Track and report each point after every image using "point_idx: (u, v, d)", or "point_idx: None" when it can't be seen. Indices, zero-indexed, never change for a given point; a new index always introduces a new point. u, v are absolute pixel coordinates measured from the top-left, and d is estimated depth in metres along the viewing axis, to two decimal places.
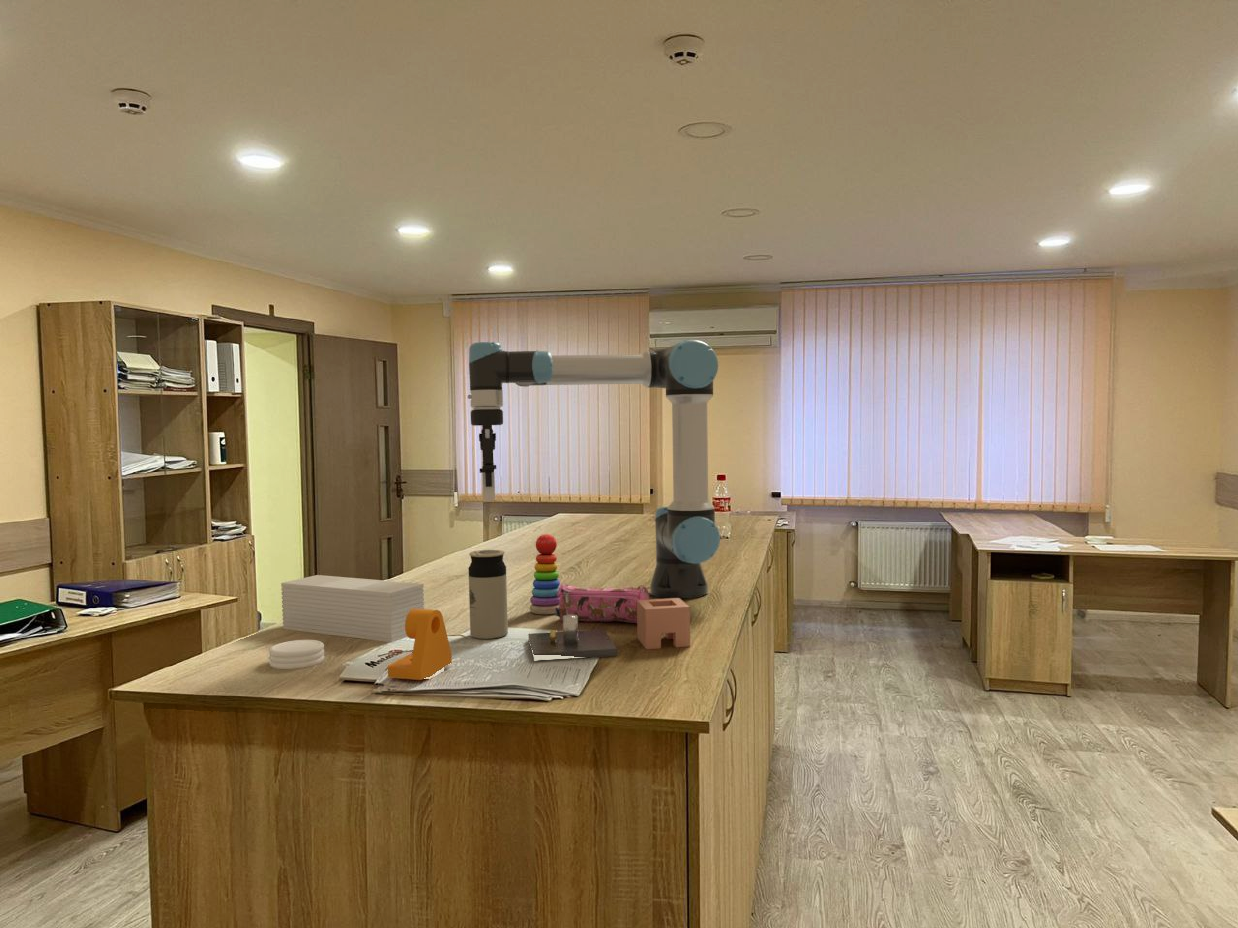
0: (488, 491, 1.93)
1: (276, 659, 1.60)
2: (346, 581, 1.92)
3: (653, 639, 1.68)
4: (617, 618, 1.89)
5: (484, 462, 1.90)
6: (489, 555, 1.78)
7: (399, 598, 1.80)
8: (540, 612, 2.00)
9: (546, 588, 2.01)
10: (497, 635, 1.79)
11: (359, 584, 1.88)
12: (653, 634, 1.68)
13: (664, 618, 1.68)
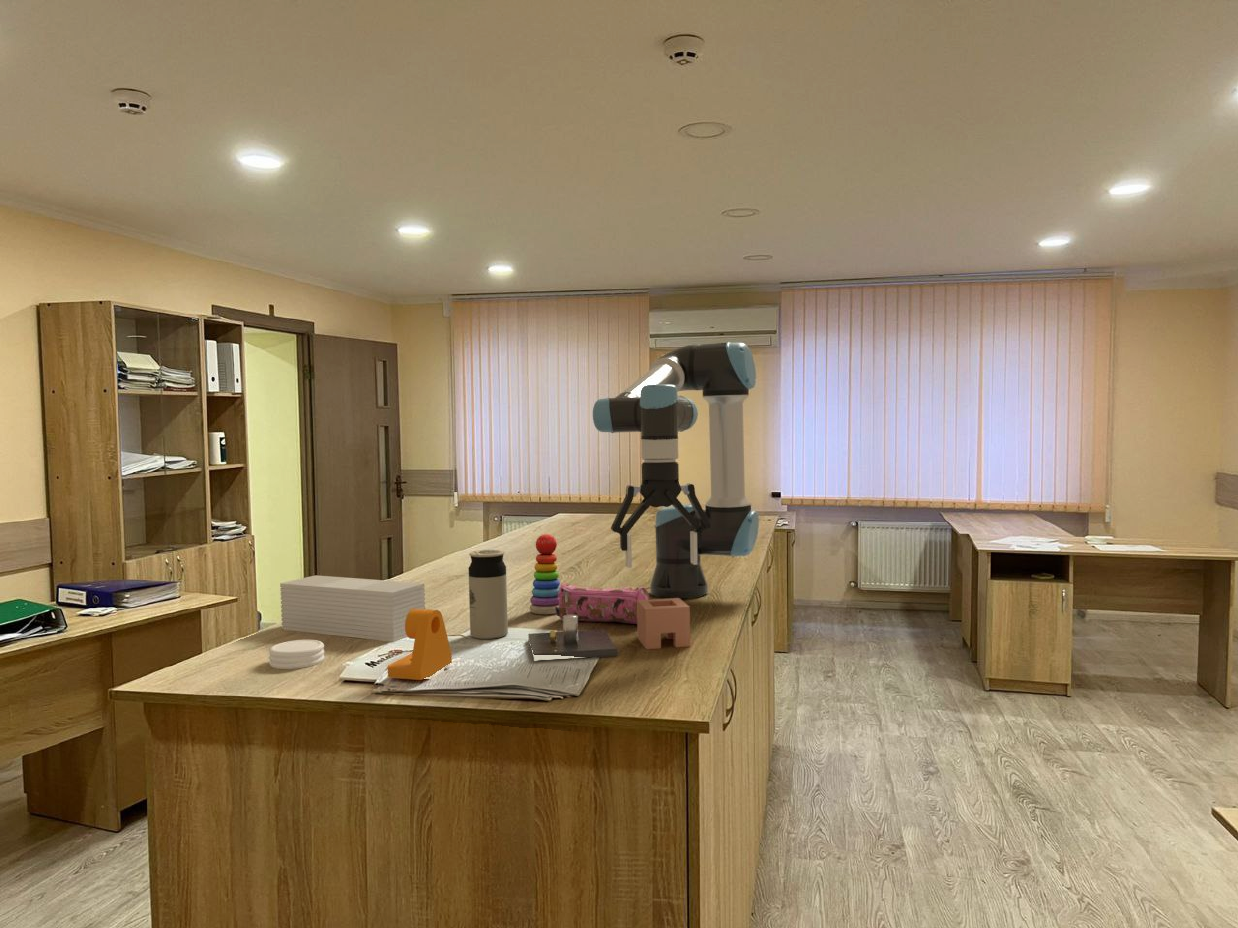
0: (626, 555, 1.71)
1: (276, 659, 1.60)
2: (346, 581, 1.92)
3: (653, 639, 1.68)
4: (615, 619, 1.88)
5: (613, 522, 1.71)
6: (489, 555, 1.78)
7: (401, 597, 1.80)
8: (540, 612, 2.00)
9: (546, 588, 2.01)
10: (497, 635, 1.79)
11: (359, 584, 1.88)
12: (653, 634, 1.68)
13: (664, 618, 1.68)
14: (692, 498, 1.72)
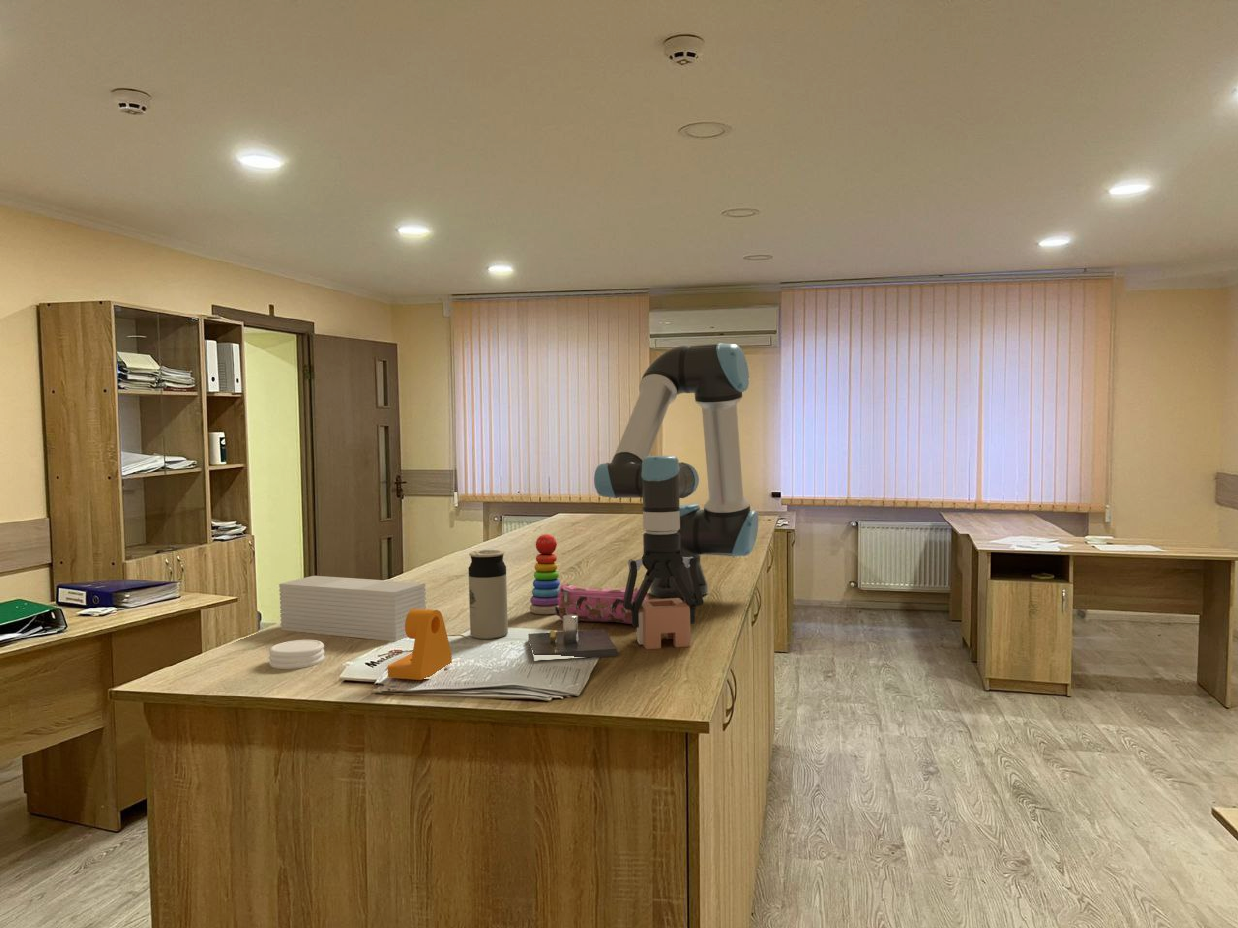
0: (638, 631, 1.72)
1: (276, 659, 1.60)
2: (346, 581, 1.91)
3: (653, 639, 1.68)
4: (614, 619, 1.88)
5: (623, 599, 1.72)
6: (489, 555, 1.78)
7: (403, 597, 1.81)
8: (540, 612, 2.00)
9: (546, 588, 2.01)
10: (497, 635, 1.79)
11: (360, 584, 1.88)
12: (653, 634, 1.68)
13: (664, 618, 1.68)
14: (691, 572, 1.72)
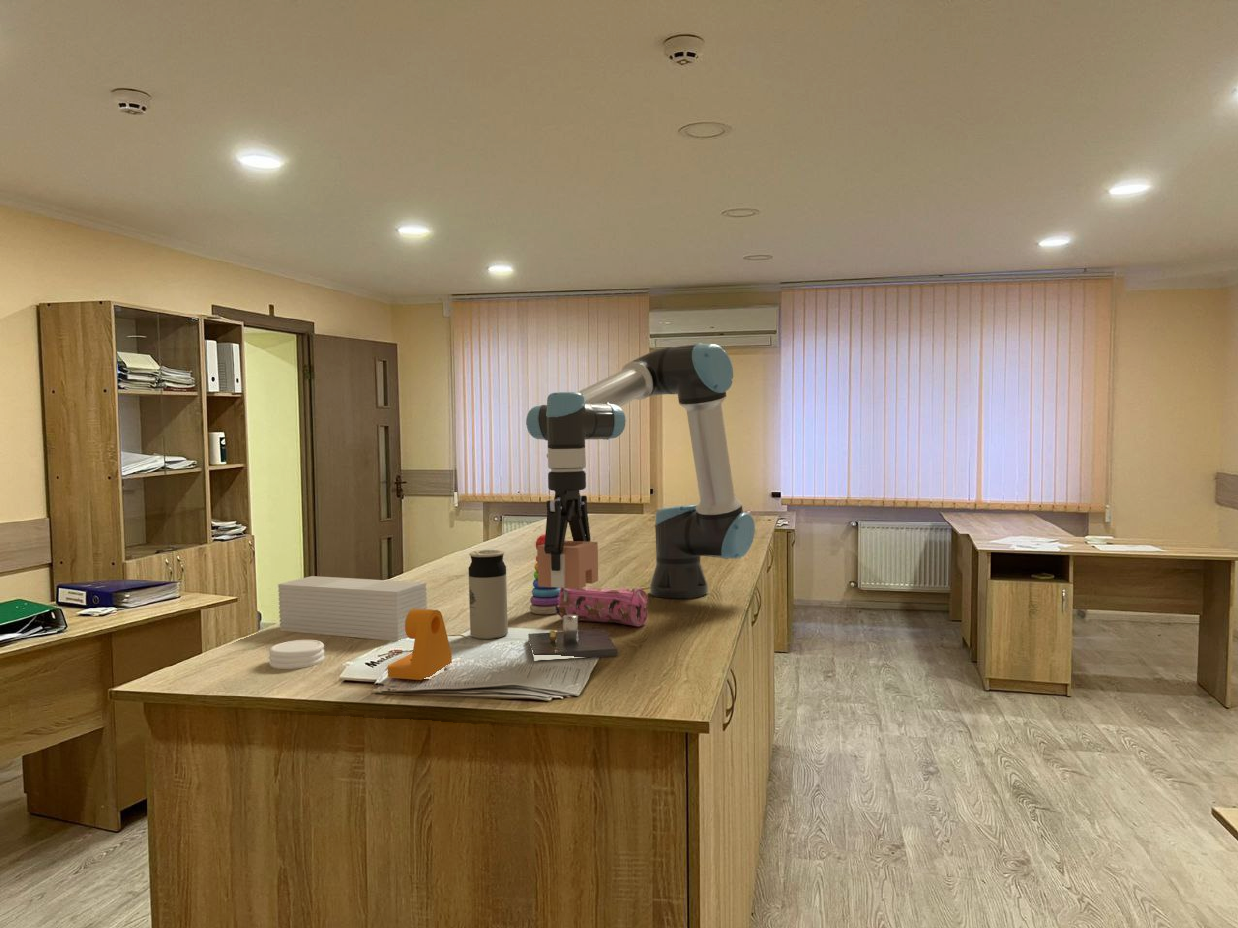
0: (556, 575, 1.64)
1: (276, 659, 1.60)
2: (345, 581, 1.91)
3: (582, 578, 1.65)
4: (612, 619, 1.88)
5: (546, 543, 1.62)
6: (489, 555, 1.78)
7: (405, 597, 1.81)
8: (540, 612, 2.00)
9: (546, 588, 2.01)
10: (497, 635, 1.79)
11: (360, 584, 1.88)
12: (582, 573, 1.65)
13: (587, 556, 1.67)
14: (585, 509, 1.74)
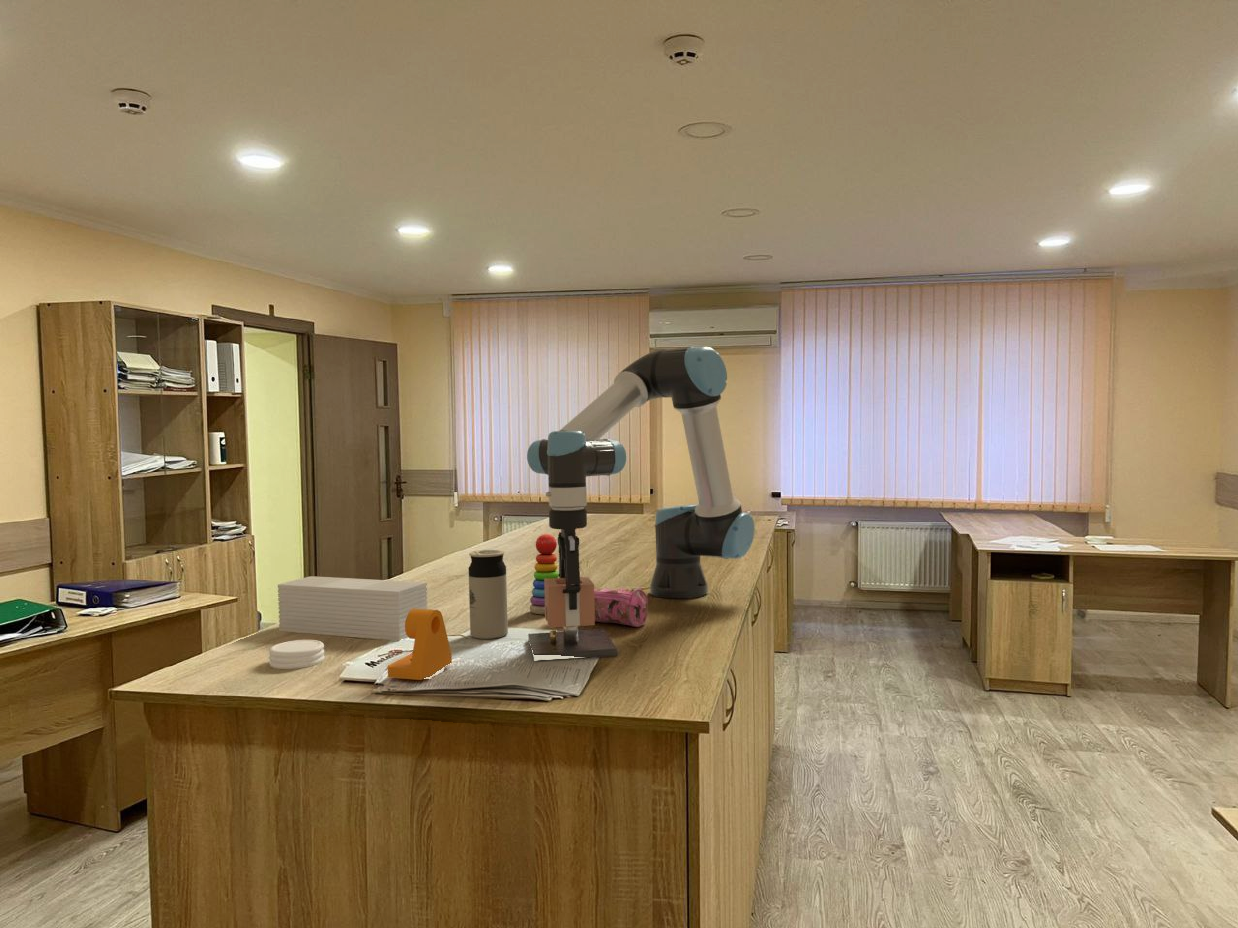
0: (572, 614, 1.64)
1: (276, 659, 1.60)
2: (345, 581, 1.91)
3: None
4: (612, 620, 1.87)
5: (569, 583, 1.61)
6: (489, 555, 1.78)
7: (406, 597, 1.81)
8: (540, 612, 2.00)
9: None
10: (497, 635, 1.79)
11: (361, 584, 1.88)
12: None
13: None
14: None
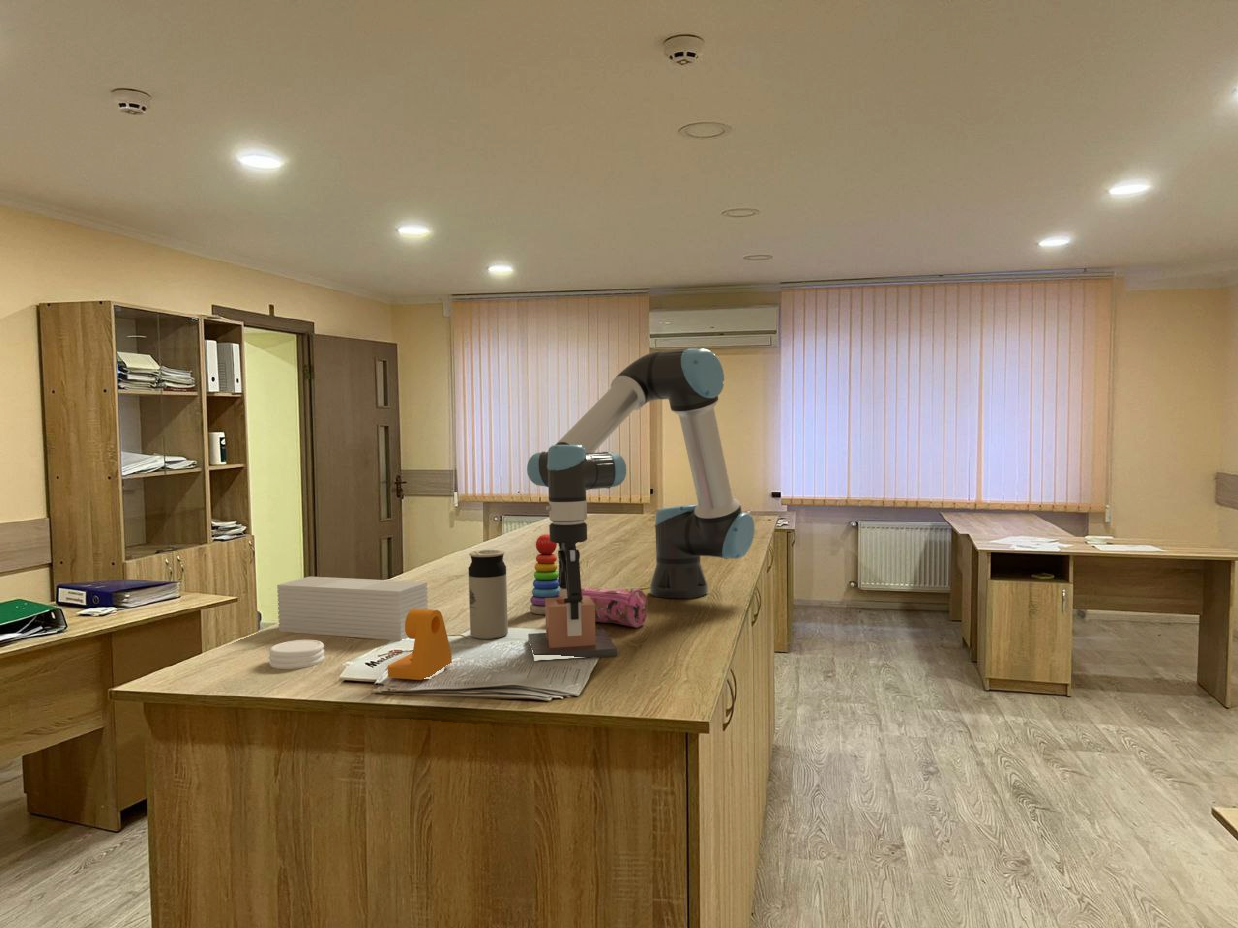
0: (574, 624, 1.62)
1: (276, 659, 1.60)
2: (345, 581, 1.91)
3: None
4: (611, 620, 1.87)
5: (570, 592, 1.60)
6: (489, 555, 1.78)
7: (407, 596, 1.81)
8: (540, 612, 2.00)
9: (546, 588, 2.01)
10: (497, 635, 1.79)
11: (361, 584, 1.88)
12: None
13: None
14: None
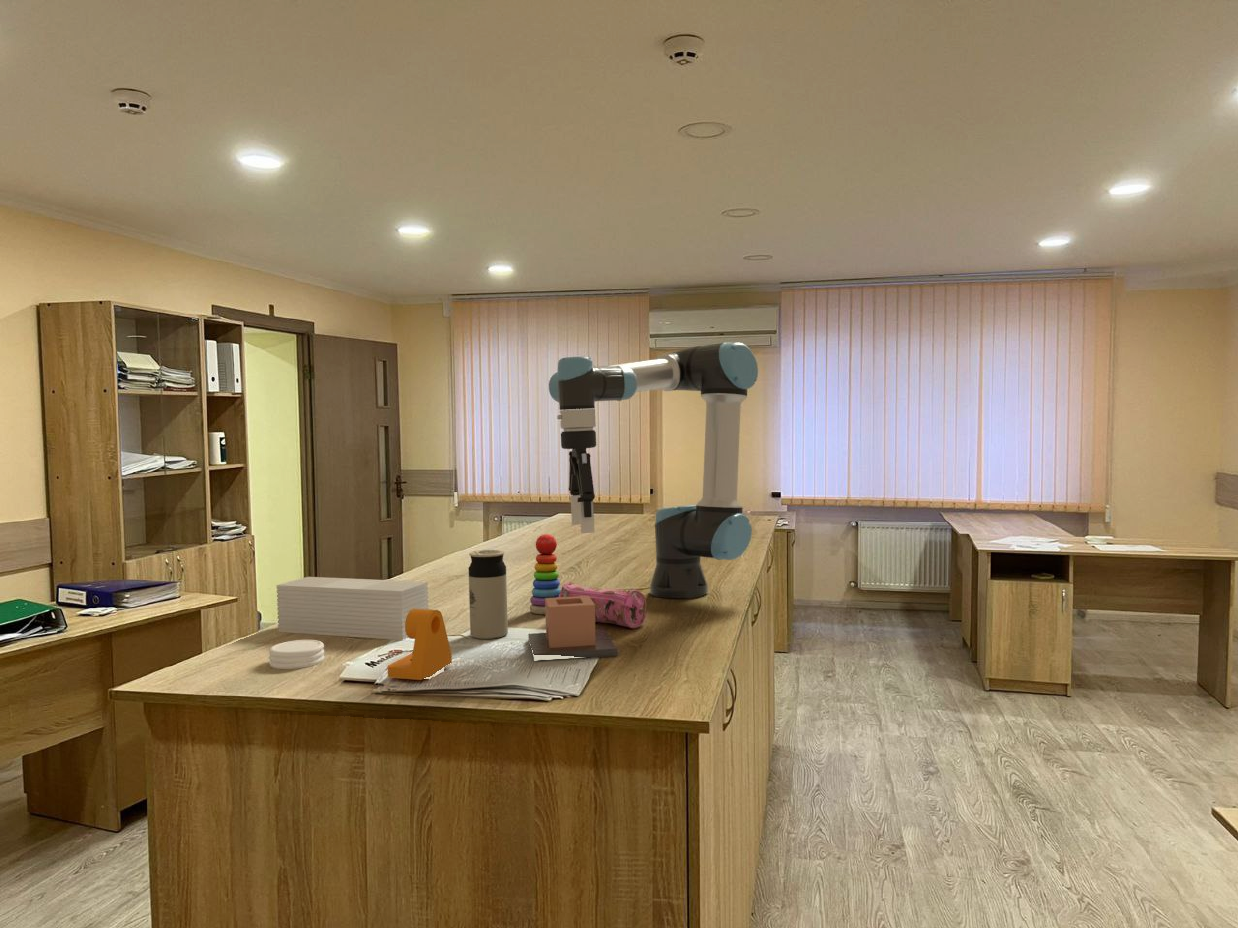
0: (587, 522, 1.75)
1: (276, 659, 1.60)
2: (345, 581, 1.91)
3: None
4: (609, 620, 1.87)
5: (584, 491, 1.72)
6: (489, 555, 1.78)
7: (408, 596, 1.82)
8: (540, 612, 2.00)
9: (546, 588, 2.01)
10: (497, 635, 1.79)
11: (361, 584, 1.88)
12: None
13: None
14: None
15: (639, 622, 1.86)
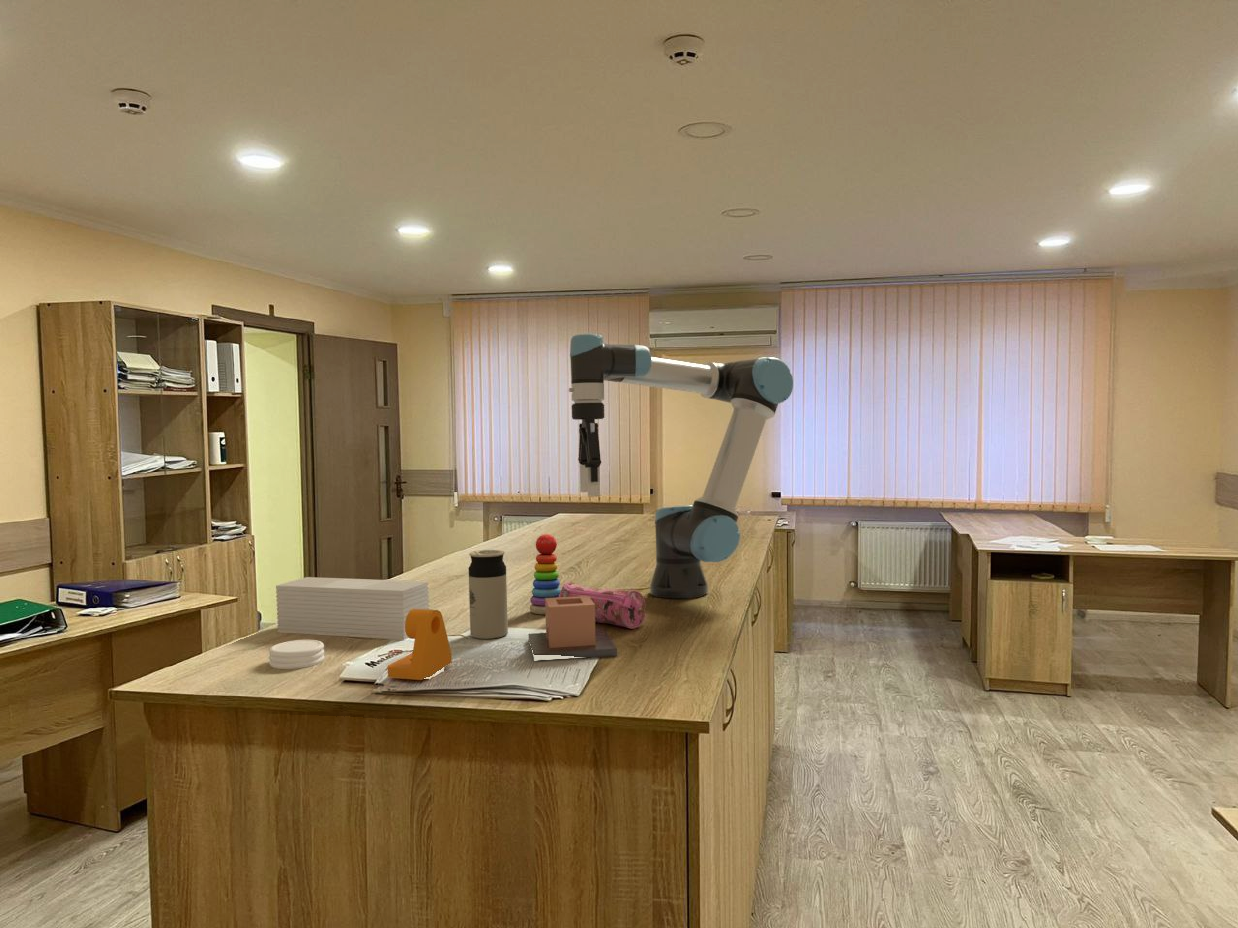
0: (593, 486, 1.88)
1: (276, 659, 1.60)
2: (345, 582, 1.91)
3: None
4: (608, 620, 1.87)
5: (591, 457, 1.85)
6: (489, 555, 1.78)
7: (410, 596, 1.82)
8: (540, 612, 2.00)
9: (546, 588, 2.01)
10: (497, 635, 1.79)
11: (362, 584, 1.88)
12: None
13: None
14: None
15: (638, 622, 1.85)
